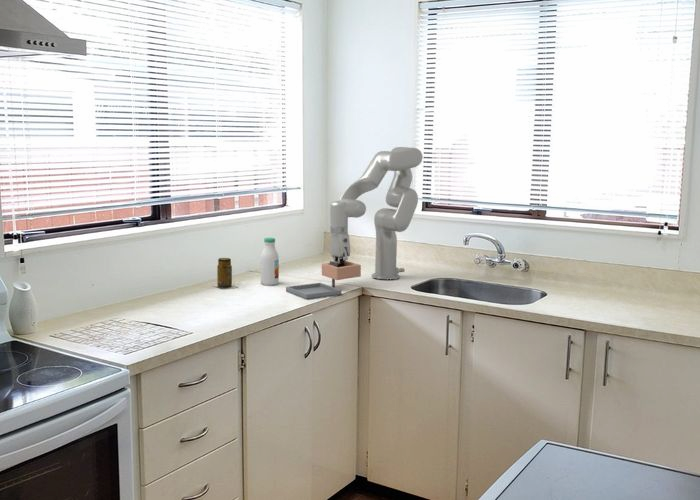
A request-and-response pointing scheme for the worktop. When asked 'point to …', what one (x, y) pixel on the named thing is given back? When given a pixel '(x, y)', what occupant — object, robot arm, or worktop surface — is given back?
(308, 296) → the tray
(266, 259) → the milk bottle
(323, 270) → the ring
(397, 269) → the robot arm
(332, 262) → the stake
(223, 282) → the condiment
